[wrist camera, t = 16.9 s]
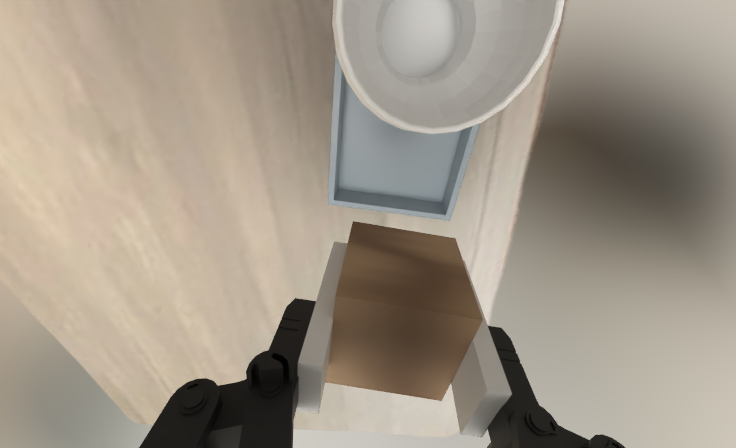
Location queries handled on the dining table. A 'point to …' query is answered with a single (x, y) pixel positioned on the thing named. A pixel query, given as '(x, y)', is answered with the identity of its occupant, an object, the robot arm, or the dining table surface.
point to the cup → (441, 56)
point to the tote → (392, 161)
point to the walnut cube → (401, 313)
